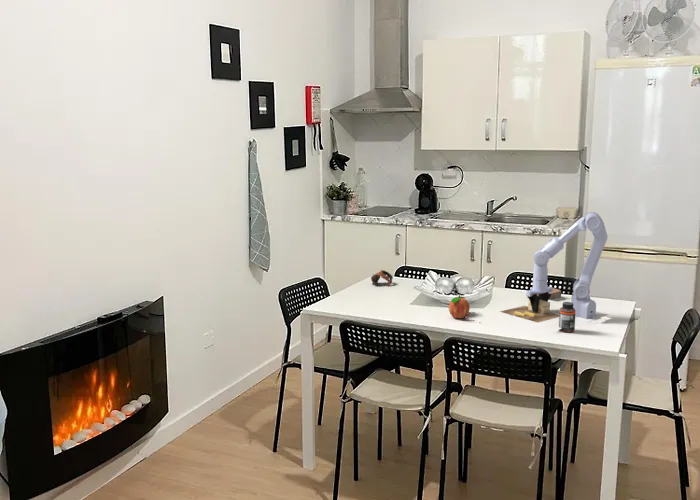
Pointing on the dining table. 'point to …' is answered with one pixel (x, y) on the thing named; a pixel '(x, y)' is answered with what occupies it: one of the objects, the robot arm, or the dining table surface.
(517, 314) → the crayon bit
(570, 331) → the supplement bottle
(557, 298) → the packaged product
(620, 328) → the dining table surface
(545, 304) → the block
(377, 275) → the brown arch piece
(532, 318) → the walnut board
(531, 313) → the crayon bit
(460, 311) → the fruit
